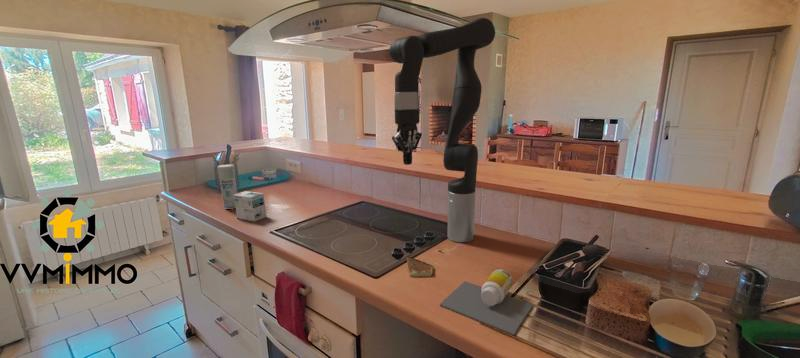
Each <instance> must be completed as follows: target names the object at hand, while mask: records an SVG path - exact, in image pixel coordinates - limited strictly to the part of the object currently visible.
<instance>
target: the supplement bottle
mask: <svg viewBox="0 0 800 358" xmlns="http://www.w3.org/2000/svg"><path fill="white" fill-rule="evenodd" d="M513 285H514V284H513V277H512V275H511V274H510V273H509V272H507V270H504V269H500V268H499V269H495V270H494V271H492V272H491V274H490V275H489V277H488V278H487V279H486V280H485V282H483V285H482V286H481V287H482V289H481V292H482V293H481V299H482V301H483V302H484V303H485V304H487V305H489V306H494V305H495V304H499V303H501V302H502V301H503V299H504V298H505V296H506V295H508V292H509V291H510V289H511V288H512V287H513Z"/></svg>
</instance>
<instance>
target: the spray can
mask: <svg viewBox="0 0 800 358" xmlns="http://www.w3.org/2000/svg"><path fill="white" fill-rule="evenodd" d="M217 172H218V177H219V184H220V190H221V191H220V192H221V197H222V204H223V208H225V209H232V210H234V209H233V208H235V201H234V194H238V188H237V180H236V175H235V174H236V173H235V167H234V164H220V165H218V166H217ZM225 209H224V210H225Z"/></svg>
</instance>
